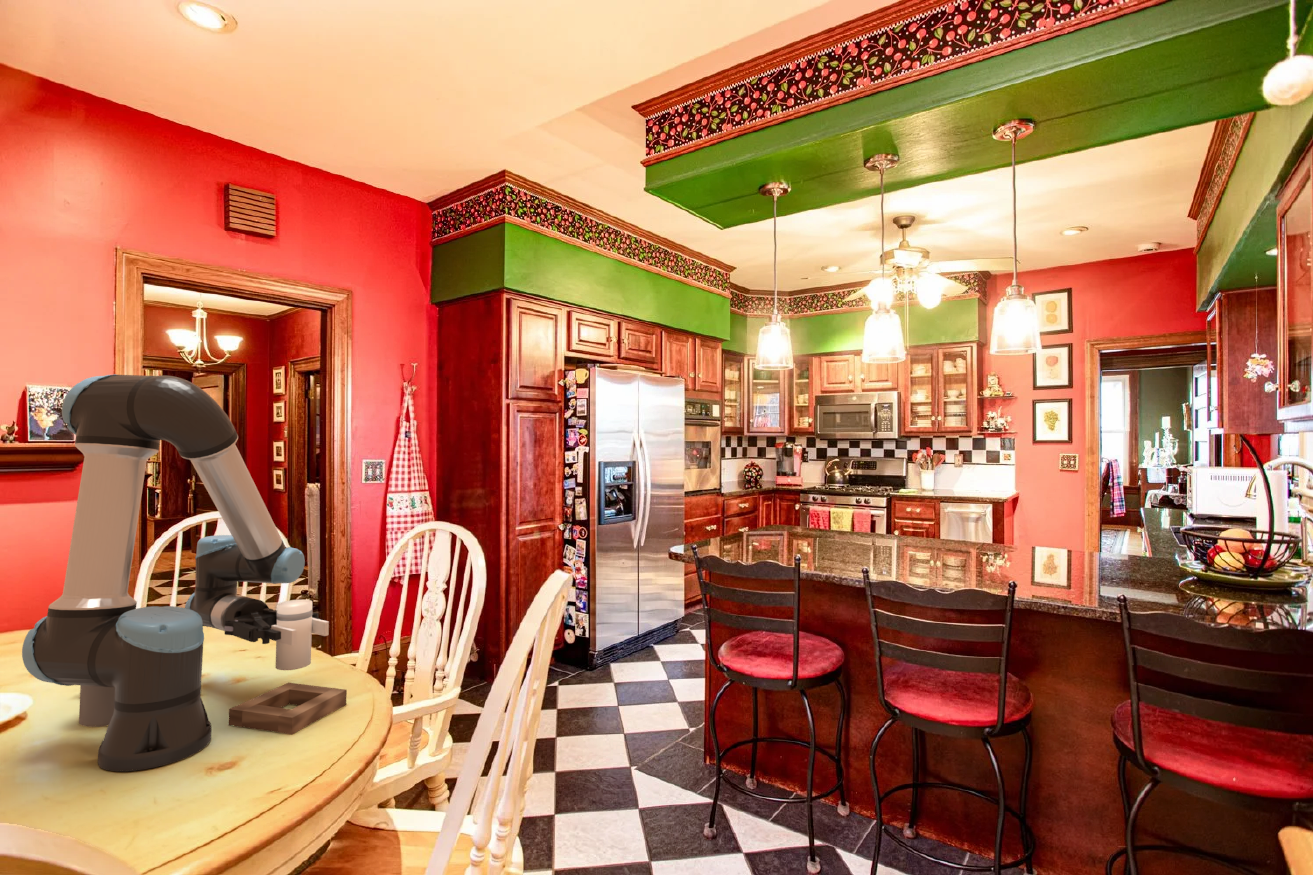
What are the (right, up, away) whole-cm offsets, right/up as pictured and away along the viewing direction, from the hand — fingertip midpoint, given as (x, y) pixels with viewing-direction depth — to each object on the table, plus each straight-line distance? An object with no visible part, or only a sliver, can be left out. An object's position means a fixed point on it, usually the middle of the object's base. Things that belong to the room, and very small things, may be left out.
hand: (310, 633), depth 121 cm
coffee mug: (-36, -16, +1) cm, 39 cm away
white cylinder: (-5, -7, +2) cm, 9 cm away
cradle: (-5, -16, +2) cm, 17 cm away
